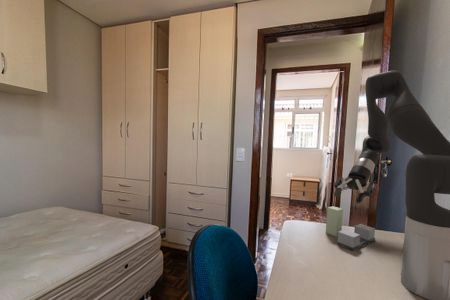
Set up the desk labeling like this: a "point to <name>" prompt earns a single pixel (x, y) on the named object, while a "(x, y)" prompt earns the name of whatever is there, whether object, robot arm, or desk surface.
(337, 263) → the desk surface
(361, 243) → the dark gray flat board
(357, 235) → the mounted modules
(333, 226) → the block
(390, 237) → the desk surface
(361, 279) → the desk surface
